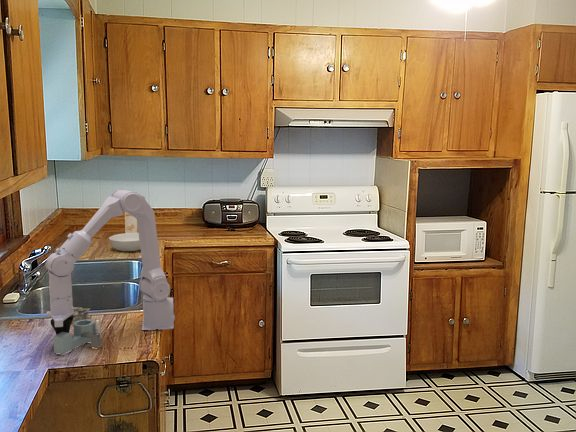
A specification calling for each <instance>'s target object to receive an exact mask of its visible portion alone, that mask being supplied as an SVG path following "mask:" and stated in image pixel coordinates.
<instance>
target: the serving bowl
mask: <svg viewBox="0 0 576 432" xmlns="http://www.w3.org/2000/svg"><path fill="white" fill-rule="evenodd" d="M108 241H109V244H110V245H111V247H112V248H114V249H115V250H118V251H122V252H126V251H133V252H138V250H139V251H141V248H140V241H139V233H118V234H114V235H111V236H109V238H108Z"/></svg>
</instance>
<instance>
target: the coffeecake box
mask: <svg viewBox="0 0 576 432" xmlns="http://www.w3.org/2000/svg"><path fill="white" fill-rule="evenodd" d="M124 230H125V233H138V225H137V219H136V218H135V217H133V216H132V215H130V214H128V213H127V212H125V211H124Z"/></svg>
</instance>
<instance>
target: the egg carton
mask: <svg viewBox="0 0 576 432" xmlns="http://www.w3.org/2000/svg"><path fill="white" fill-rule="evenodd" d="M73 310H74V313H73V314H72V315H73V316H74V318H73V321H72V323H71V325H73V323H74V322H76V321H78V320H85V319H88V320H90V318H89V311H90V310H91V308H90V307H89V308H85V307H84V308H83V307H81V306H80V307H74V306H73ZM49 311H51V310H49Z"/></svg>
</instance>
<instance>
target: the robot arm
mask: <svg viewBox="0 0 576 432" xmlns="http://www.w3.org/2000/svg"><path fill="white" fill-rule="evenodd" d="M125 212H127V213H128V214H130V215H132V216H133V217H135V218H136V219H137V225H138V233H139V241H140V248H141V250H140V255H141V263H142V270H141V271H140V280H139V283H138V285H139V289H140V292H142V293H143V295H142V318H143V320H142V322H141V323H142V324H141V331H142V330H148V331H156V330H155V329H158V330H157V331H159V330H160V331H163V330H173V329H174V327H175V326H174V324H175V323H174V322H175V321H176V320H175V318H176V317H175V313H174V312H175V311H174V297H169V295H170V292H171V286H170V284H169V282H168V280H167V277H166V276H167V275H166V274H165V272H164V270H163V269H162V265H161V257H160V250H159V249H160V248H159V241H158V234H157V233H158V232H157V223H156V215H155V211H154V209H153V208H152V206H151V205H150V203H148V201H147V200H146V197H145V196H143V195H142V194H140V193H138V192H137V191H130V190H128V189H126V188H125V189H124V188H118V189H115V190H114V191H113V192H112V193H111V195H109V196H108V197H107V198H106V199H105V200H104V202H103V203H102V205H101V206H100V207H99V209H98V210H97V211H96V212H95V214H94V215H93V216H92V217H91V218H90V219H89V221H88V222H87V223H86V224H85V225H84V227H83V228H82V229H81V230H75V231H74V232H72V233H71V232H69V233H68V235H67V236H66V237H67V239H66V240H65V241H64V242H63V244H62V245H61V246H60V247H57V248H55V252H54V253H53V252H52V253H51V254H49V255H48V257H47V259H46V261H45V263H44V265H45V268H46V270H47V271H48V279H49V280H48V287H49V289H48V290H49V305H50V306H49V307H50V308H49V309H50V310H51V311H50V310H49V311H46V312H45V316H49V317H51V320H50V325H51V327H52V329H53V330H54V332H55V335H57V334H59V333H61V332H66V333H70V330H71V325H72V321H73V318H74V316H73V315H72V314H73V313H74V310H73V307H74V306H73V303H74V301H73V286H72V285H73V284H72V283H73V281H72V272H73V271H74V269H75V263H76V262H77V261H79V259H80V258H81V257H82V255H84V253H85V252H86V251H87V250H88V249H89V247H91V246H92V238H93V237H94V236H95V235H96V234H97V233H98V232H99V231H100V230H101V229H102V228H103V227H104V226H105V225H106V224H107V223H108V222H109V221H110V220H111V219H112V218H115V217H121V216H125Z"/></svg>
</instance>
